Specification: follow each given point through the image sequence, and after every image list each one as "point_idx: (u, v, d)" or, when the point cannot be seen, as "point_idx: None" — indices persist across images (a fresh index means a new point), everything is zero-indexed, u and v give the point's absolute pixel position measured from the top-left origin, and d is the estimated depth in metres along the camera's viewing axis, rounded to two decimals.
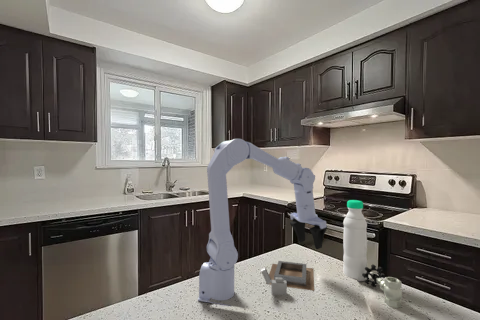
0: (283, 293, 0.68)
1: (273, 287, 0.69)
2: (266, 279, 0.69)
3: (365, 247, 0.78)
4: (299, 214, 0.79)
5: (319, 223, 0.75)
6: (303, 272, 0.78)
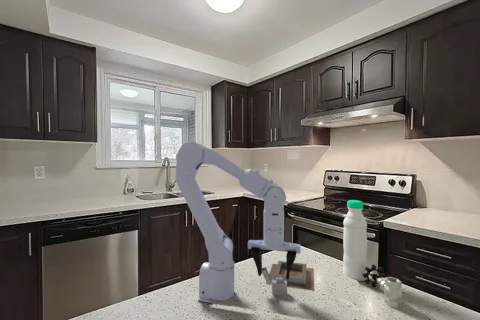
0: (283, 293, 0.68)
1: (273, 287, 0.68)
2: (266, 279, 0.69)
3: (365, 247, 0.78)
4: (272, 240, 0.67)
5: (297, 248, 0.67)
6: (303, 272, 0.78)
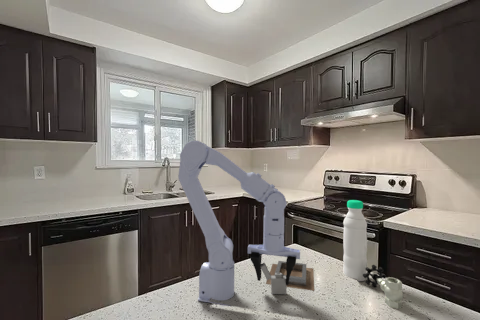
0: (283, 288, 0.68)
1: (273, 283, 0.68)
2: (266, 275, 0.69)
3: (365, 247, 0.78)
4: (272, 245, 0.67)
5: (297, 253, 0.67)
6: (303, 272, 0.78)
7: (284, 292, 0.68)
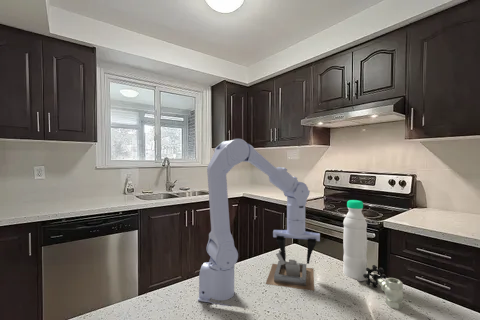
0: (296, 273, 0.77)
1: (287, 268, 0.78)
2: (280, 260, 0.79)
3: (365, 247, 0.78)
4: (295, 229, 0.77)
5: (317, 236, 0.77)
6: (303, 272, 0.78)
7: None
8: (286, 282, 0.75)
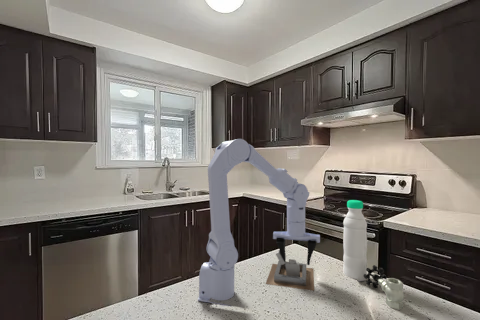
0: (296, 273, 0.78)
1: (287, 267, 0.78)
2: (280, 260, 0.79)
3: (365, 247, 0.78)
4: (295, 231, 0.77)
5: (317, 237, 0.77)
6: (303, 272, 0.78)
7: (297, 276, 0.77)
8: (286, 282, 0.75)
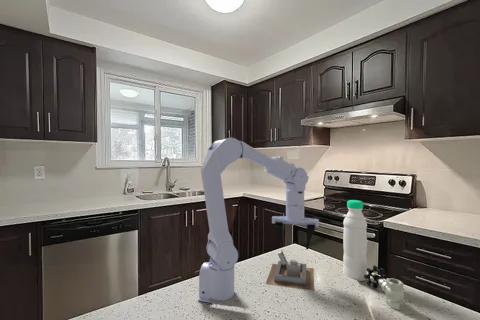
0: (296, 274, 0.77)
1: (288, 268, 0.78)
2: (282, 260, 0.79)
3: (365, 247, 0.78)
4: (294, 215, 0.77)
5: (316, 221, 0.77)
6: (303, 272, 0.78)
7: None
8: (286, 282, 0.75)
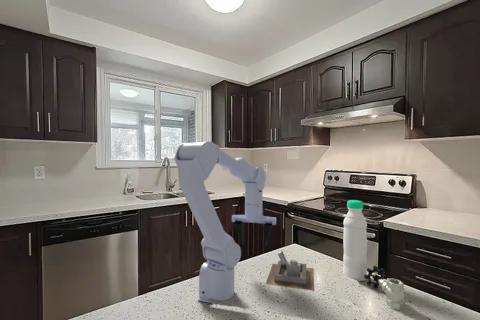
0: (296, 274, 0.77)
1: (288, 268, 0.78)
2: (281, 260, 0.79)
3: (365, 247, 0.78)
4: (251, 213, 0.79)
5: (272, 220, 0.78)
6: (303, 272, 0.78)
7: None
8: (286, 282, 0.75)
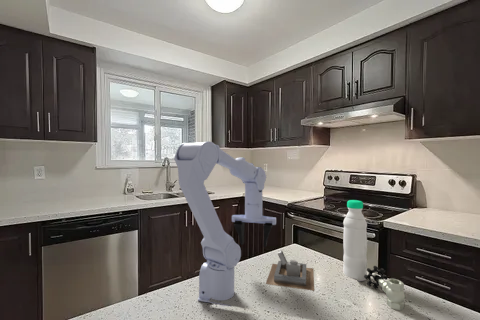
0: (296, 274, 0.77)
1: (288, 268, 0.78)
2: (281, 260, 0.79)
3: (365, 247, 0.78)
4: (251, 213, 0.79)
5: (272, 220, 0.78)
6: (303, 272, 0.78)
7: None
8: (286, 282, 0.75)
